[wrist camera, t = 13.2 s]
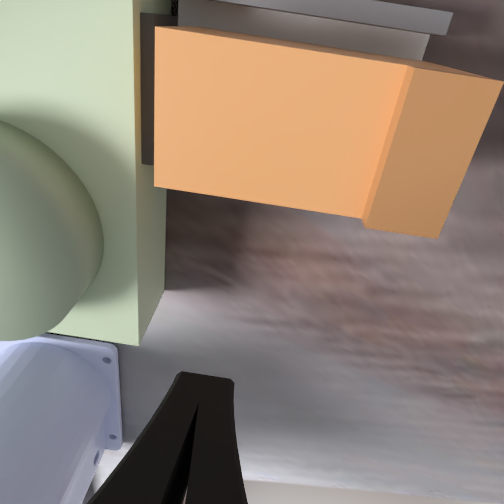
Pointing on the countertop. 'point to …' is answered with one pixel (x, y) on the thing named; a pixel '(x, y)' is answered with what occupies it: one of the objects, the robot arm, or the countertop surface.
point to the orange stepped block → (315, 126)
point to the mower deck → (121, 144)
